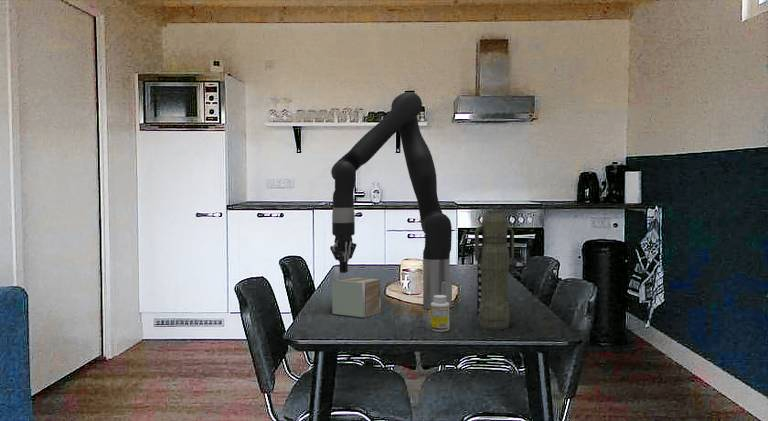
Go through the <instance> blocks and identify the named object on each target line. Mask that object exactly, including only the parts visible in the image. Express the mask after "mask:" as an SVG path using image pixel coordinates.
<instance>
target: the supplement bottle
mask: <svg viewBox="0 0 768 421" xmlns="http://www.w3.org/2000/svg"><path fill="white" fill-rule="evenodd" d="M433 301H434V302H432V303H431V309H430V328H431V330H432V331H433V332H436V333H437V332H438V333H446V332H449V330H450V329H451V328H450V326H451V325H450V323H451V322H450V320H451V319H450V318H451V315H450V305H449V303H448V302H447V296H445V295H435V296H433Z"/></svg>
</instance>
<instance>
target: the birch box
mask: <svg viewBox="0 0 768 421" xmlns="http://www.w3.org/2000/svg"><path fill="white" fill-rule="evenodd" d="M340 280H342V281H353V282H364V283H365V318H367V316H368V317H370V315H371V316H373V315H377V314H380V313H382V312H381V311H382V305H381V304H382V303H381V302H382V299H381V298H382V295H381V294H382V292H381V288H382V285H381V281H382V280H381V279H375V278H364V277H363V278H362V277H353V276H352V277H351V276H350V277H347V278H346V277H344V278H341V279H340Z"/></svg>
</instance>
